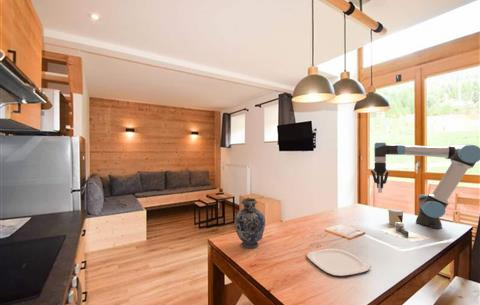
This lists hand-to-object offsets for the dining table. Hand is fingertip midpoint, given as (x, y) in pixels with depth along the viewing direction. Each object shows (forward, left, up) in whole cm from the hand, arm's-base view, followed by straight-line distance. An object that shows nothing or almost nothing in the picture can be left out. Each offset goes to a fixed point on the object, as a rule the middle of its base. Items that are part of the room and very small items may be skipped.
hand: (380, 192), depth 174 cm
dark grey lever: (+8, +23, -23) cm, 33 cm away
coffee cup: (-6, +8, -25) cm, 27 cm away
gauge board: (+9, +24, -24) cm, 35 cm away
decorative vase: (+110, +1, -25) cm, 113 cm away
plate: (+76, +36, -25) cm, 88 cm away
